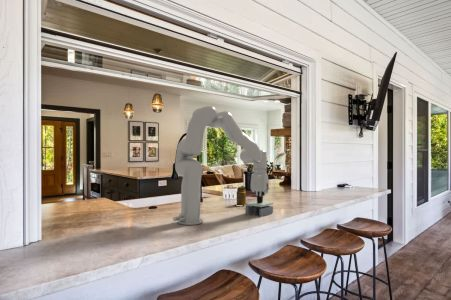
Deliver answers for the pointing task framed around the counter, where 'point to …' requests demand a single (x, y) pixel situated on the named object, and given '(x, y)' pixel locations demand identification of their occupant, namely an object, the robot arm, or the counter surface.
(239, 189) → the condiment
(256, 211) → the gray rectangular prism
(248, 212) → the grey u-shaped block
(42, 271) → the counter surface
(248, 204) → the lid
